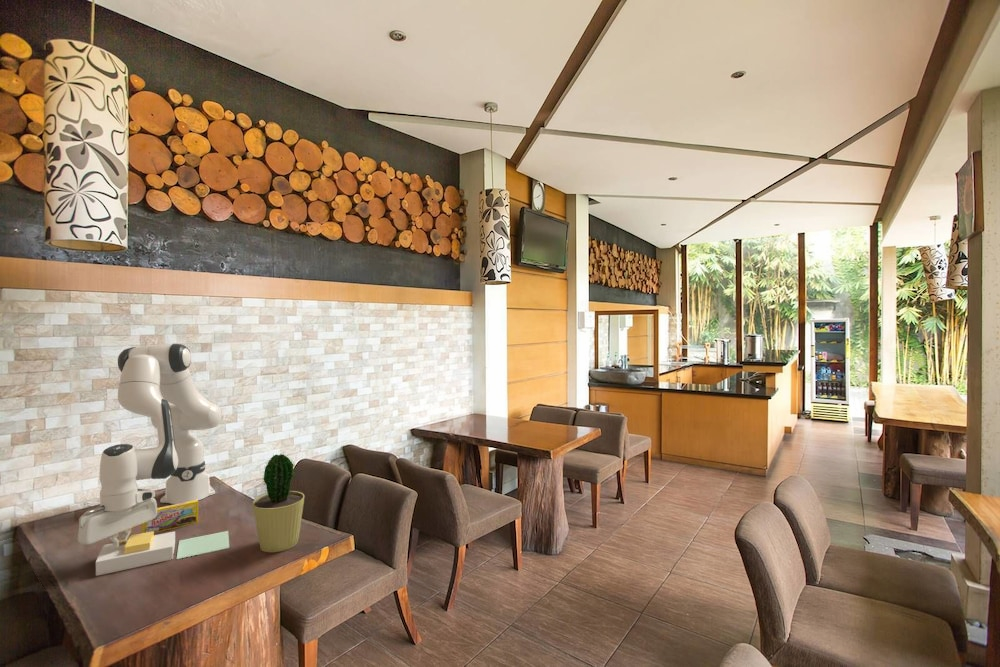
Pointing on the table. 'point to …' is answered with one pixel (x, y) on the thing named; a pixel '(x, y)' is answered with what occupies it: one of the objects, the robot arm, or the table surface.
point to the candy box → (173, 517)
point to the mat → (203, 544)
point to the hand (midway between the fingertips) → (120, 545)
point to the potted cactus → (278, 507)
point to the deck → (135, 555)
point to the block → (139, 542)
